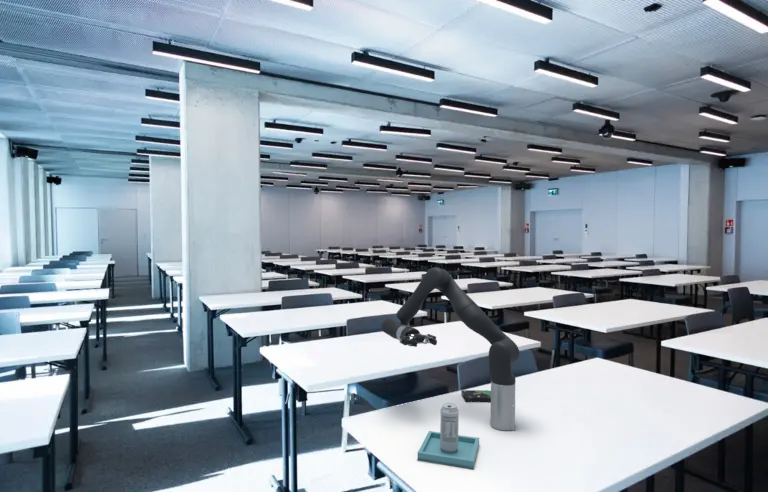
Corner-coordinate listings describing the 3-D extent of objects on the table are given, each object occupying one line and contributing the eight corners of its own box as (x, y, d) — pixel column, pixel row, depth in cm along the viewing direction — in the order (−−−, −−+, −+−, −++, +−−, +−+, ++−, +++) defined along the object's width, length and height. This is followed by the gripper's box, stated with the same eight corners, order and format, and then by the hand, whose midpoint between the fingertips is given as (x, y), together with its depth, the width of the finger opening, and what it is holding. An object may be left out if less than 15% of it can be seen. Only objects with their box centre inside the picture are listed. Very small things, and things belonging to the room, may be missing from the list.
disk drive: (465, 403, 201) (498, 403, 202) (465, 397, 201) (498, 397, 202) (460, 396, 212) (492, 395, 212) (460, 390, 212) (492, 389, 212)
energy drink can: (459, 447, 154) (460, 403, 154) (456, 455, 149) (456, 409, 149) (442, 444, 156) (442, 401, 156) (438, 452, 151) (439, 407, 151)
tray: (479, 445, 158) (479, 438, 158) (473, 469, 141) (473, 461, 141) (428, 437, 164) (429, 430, 164) (417, 460, 146) (417, 452, 146)
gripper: (392, 327, 187) (409, 334, 172) (423, 325, 192) (442, 332, 177) (392, 345, 187) (409, 354, 172) (423, 343, 192) (442, 351, 177)
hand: (426, 343), depth 175 cm, fingers open, 8 cm apart
